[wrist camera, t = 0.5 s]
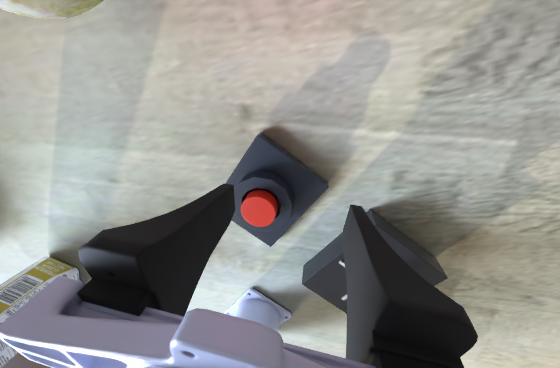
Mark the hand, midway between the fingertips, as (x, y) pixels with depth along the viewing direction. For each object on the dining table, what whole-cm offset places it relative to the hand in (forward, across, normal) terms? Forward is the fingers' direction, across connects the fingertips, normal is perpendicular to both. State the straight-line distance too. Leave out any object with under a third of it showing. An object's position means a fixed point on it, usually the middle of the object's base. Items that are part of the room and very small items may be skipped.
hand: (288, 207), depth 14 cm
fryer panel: (+9, -9, +14) cm, 19 cm away
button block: (+10, +4, +6) cm, 12 cm away
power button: (+7, +4, +6) cm, 10 cm away
